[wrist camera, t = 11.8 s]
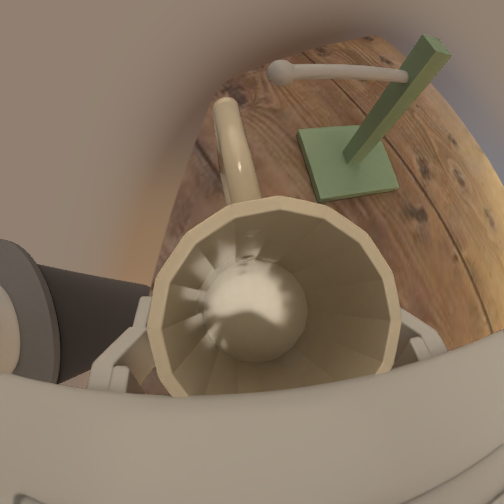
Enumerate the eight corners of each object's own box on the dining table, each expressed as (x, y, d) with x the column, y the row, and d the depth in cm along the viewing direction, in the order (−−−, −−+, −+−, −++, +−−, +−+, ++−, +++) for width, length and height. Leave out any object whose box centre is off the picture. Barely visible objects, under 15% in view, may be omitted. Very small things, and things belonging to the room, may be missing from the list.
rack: (262, 213, 34) (303, 77, 11) (245, 142, 35) (255, -11, 13) (394, 191, 35) (507, 104, 13) (370, 129, 37) (449, 23, 14)
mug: (319, 350, 16) (411, 402, 6) (212, 375, 16) (186, 463, 6) (277, 171, 18) (315, 59, 8) (176, 190, 17) (126, 86, 8)
